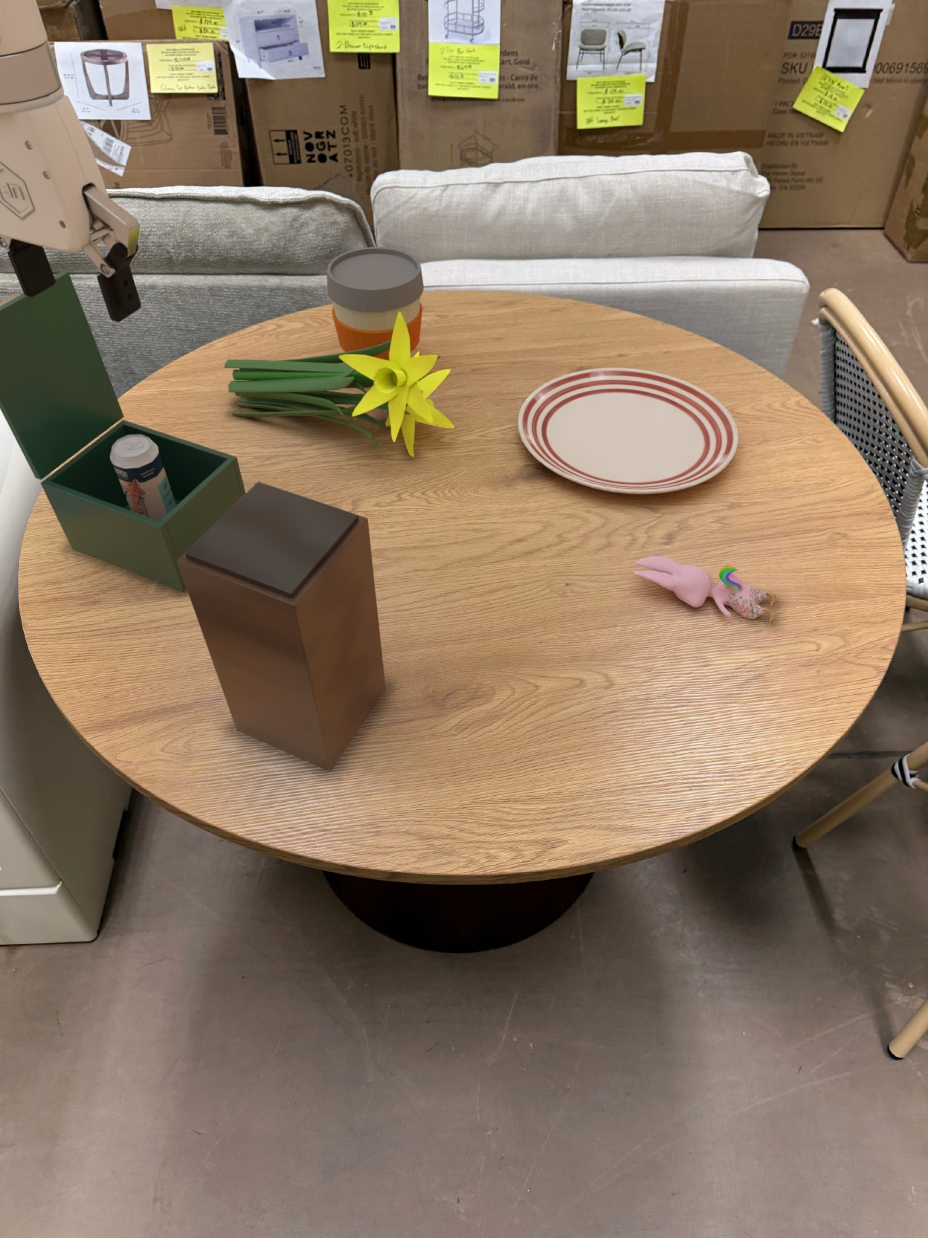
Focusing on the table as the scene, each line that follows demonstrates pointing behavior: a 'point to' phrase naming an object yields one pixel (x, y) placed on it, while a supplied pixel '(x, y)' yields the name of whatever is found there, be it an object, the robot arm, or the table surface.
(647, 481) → the dinner plate
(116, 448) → the beer can
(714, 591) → the rabbit figure
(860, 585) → the table surface
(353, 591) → the stand
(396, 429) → the daffodil flowers
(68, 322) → the lid
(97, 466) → the box
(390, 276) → the reusable coffee cup
